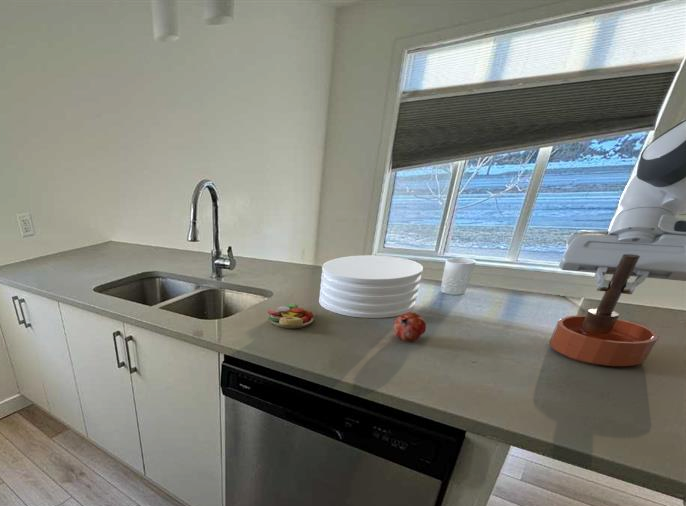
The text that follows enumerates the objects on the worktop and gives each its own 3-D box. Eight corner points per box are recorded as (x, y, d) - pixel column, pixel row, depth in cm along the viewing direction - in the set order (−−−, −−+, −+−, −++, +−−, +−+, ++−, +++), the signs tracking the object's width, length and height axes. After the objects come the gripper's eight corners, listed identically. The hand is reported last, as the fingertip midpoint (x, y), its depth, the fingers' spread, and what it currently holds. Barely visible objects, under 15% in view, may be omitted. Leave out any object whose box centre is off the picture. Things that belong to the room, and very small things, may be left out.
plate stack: (374, 325, 113) (381, 285, 107) (300, 301, 134) (303, 267, 129) (434, 302, 124) (443, 265, 118) (357, 283, 146) (362, 251, 140)
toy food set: (290, 334, 113) (291, 323, 111) (258, 321, 123) (258, 311, 121) (322, 321, 119) (324, 311, 117) (289, 310, 128) (289, 300, 127)
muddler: (603, 326, 89) (639, 252, 81) (615, 334, 86) (655, 258, 78) (576, 325, 91) (609, 252, 83) (587, 333, 87) (623, 258, 79)
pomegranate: (399, 339, 109) (379, 324, 104) (420, 317, 107) (400, 300, 102) (419, 353, 103) (398, 337, 99) (441, 330, 101) (421, 313, 96)
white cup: (451, 286, 135) (459, 256, 130) (473, 292, 129) (482, 261, 124) (432, 290, 133) (439, 260, 128) (453, 297, 127) (462, 265, 122)
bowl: (617, 340, 95) (629, 316, 92) (662, 372, 82) (678, 345, 79) (536, 337, 99) (545, 314, 96) (567, 366, 87) (579, 341, 84)
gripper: (574, 221, 88) (552, 276, 87) (719, 226, 76) (696, 290, 75) (567, 238, 93) (546, 291, 92) (703, 245, 81) (680, 306, 80)
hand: (614, 291), depth 83 cm, fingers closed on muddler, 2 cm apart
